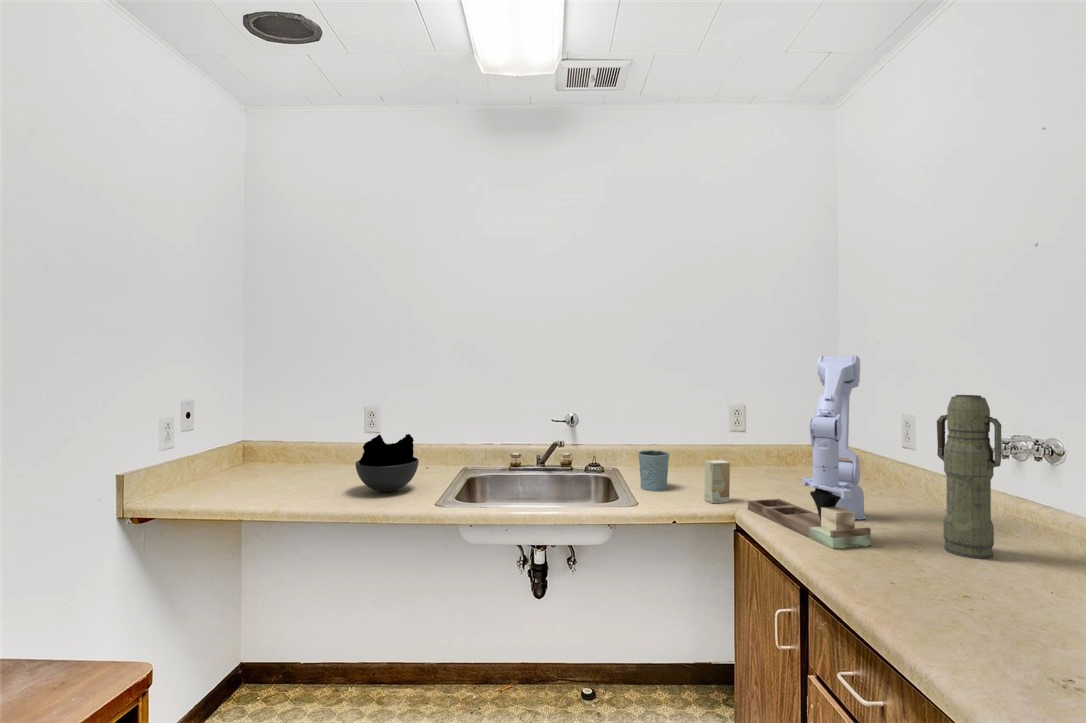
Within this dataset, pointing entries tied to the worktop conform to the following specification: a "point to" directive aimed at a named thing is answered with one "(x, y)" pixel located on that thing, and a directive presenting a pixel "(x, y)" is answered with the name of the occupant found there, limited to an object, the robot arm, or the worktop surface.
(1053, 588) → the worktop surface
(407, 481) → the bowl of black rocks
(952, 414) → the thermos
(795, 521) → the track
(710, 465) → the skincare box
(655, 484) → the teal embossed cup
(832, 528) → the maple block
